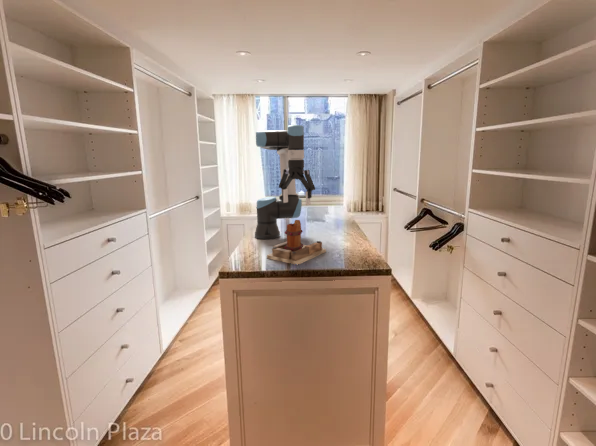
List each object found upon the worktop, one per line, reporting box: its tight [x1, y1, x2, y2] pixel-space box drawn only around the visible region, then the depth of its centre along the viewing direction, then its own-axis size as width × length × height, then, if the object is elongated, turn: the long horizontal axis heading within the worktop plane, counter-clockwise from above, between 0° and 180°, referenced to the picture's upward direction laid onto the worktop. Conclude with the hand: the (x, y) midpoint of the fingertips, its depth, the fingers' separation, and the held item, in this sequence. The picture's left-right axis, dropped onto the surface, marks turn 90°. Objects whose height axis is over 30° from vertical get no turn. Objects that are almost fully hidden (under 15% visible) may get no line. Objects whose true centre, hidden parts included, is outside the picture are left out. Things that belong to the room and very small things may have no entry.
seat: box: [266, 240, 327, 266], centre depth 157 cm, size 18×24×5 cm
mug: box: [284, 219, 304, 252], centre depth 156 cm, size 15×8×15 cm, turn 164°
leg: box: [305, 240, 323, 254], centre depth 158 cm, size 11×3×4 cm, turn 140°
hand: (296, 203), depth 158 cm, fingers open, 13 cm apart
